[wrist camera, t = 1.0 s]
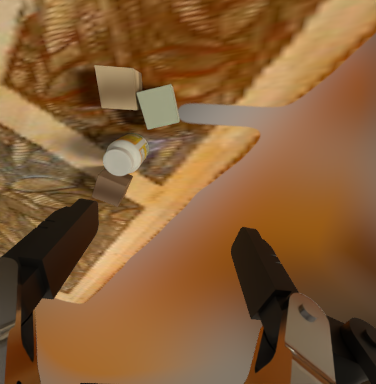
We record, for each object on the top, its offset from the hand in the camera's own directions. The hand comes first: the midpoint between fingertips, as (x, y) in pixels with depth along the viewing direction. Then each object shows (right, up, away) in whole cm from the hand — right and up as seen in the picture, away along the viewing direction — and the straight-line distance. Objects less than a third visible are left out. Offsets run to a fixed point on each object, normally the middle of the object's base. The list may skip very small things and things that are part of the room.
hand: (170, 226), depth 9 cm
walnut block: (-14, +4, +26) cm, 30 cm away
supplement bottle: (-9, +11, +23) cm, 27 cm away
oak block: (-9, +19, +18) cm, 27 cm away
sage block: (-3, +17, +19) cm, 26 cm away
